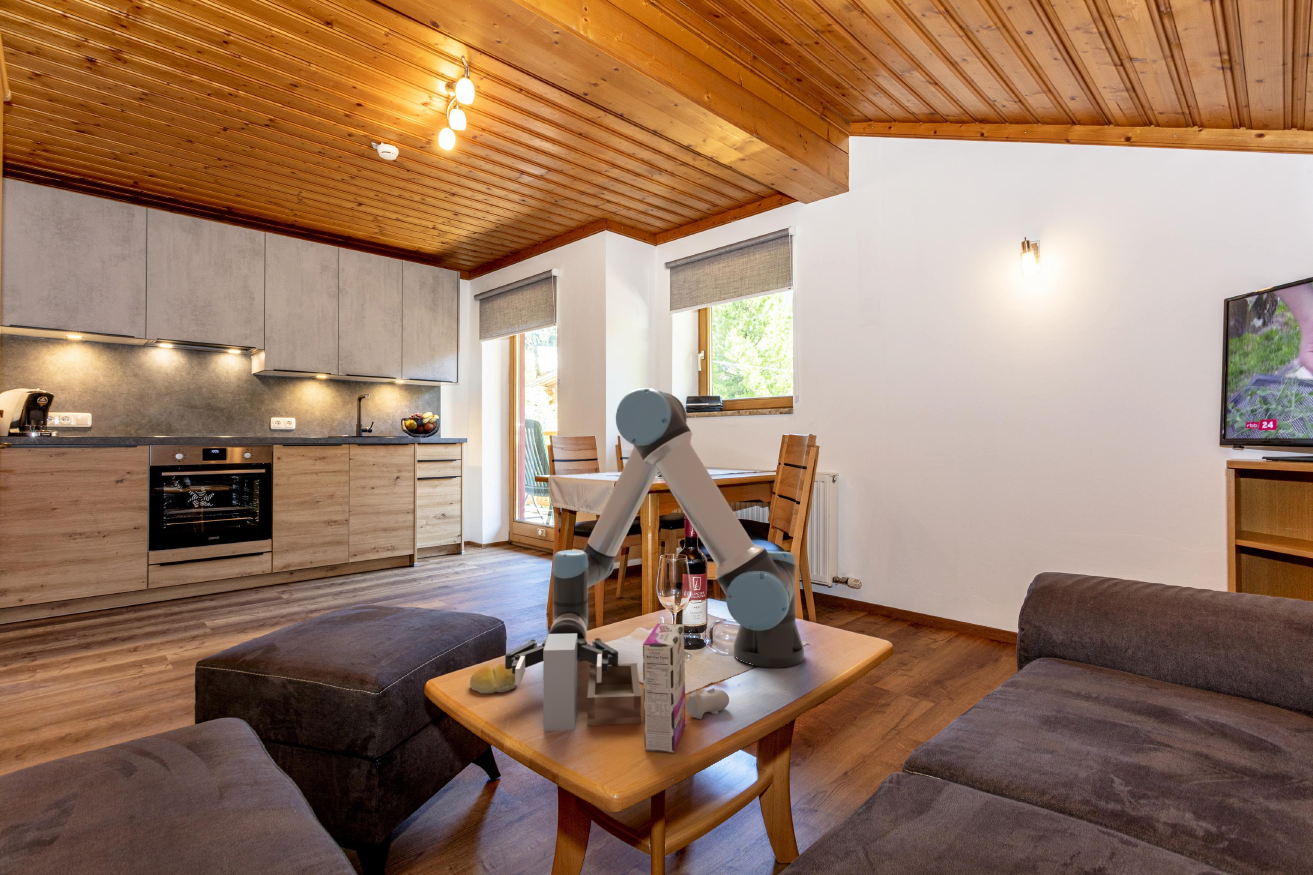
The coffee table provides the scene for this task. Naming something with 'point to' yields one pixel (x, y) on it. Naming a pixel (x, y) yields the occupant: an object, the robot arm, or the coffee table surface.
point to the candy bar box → (664, 687)
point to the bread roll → (493, 679)
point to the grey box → (560, 682)
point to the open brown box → (614, 695)
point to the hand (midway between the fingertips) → (558, 675)
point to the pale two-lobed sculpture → (707, 702)
